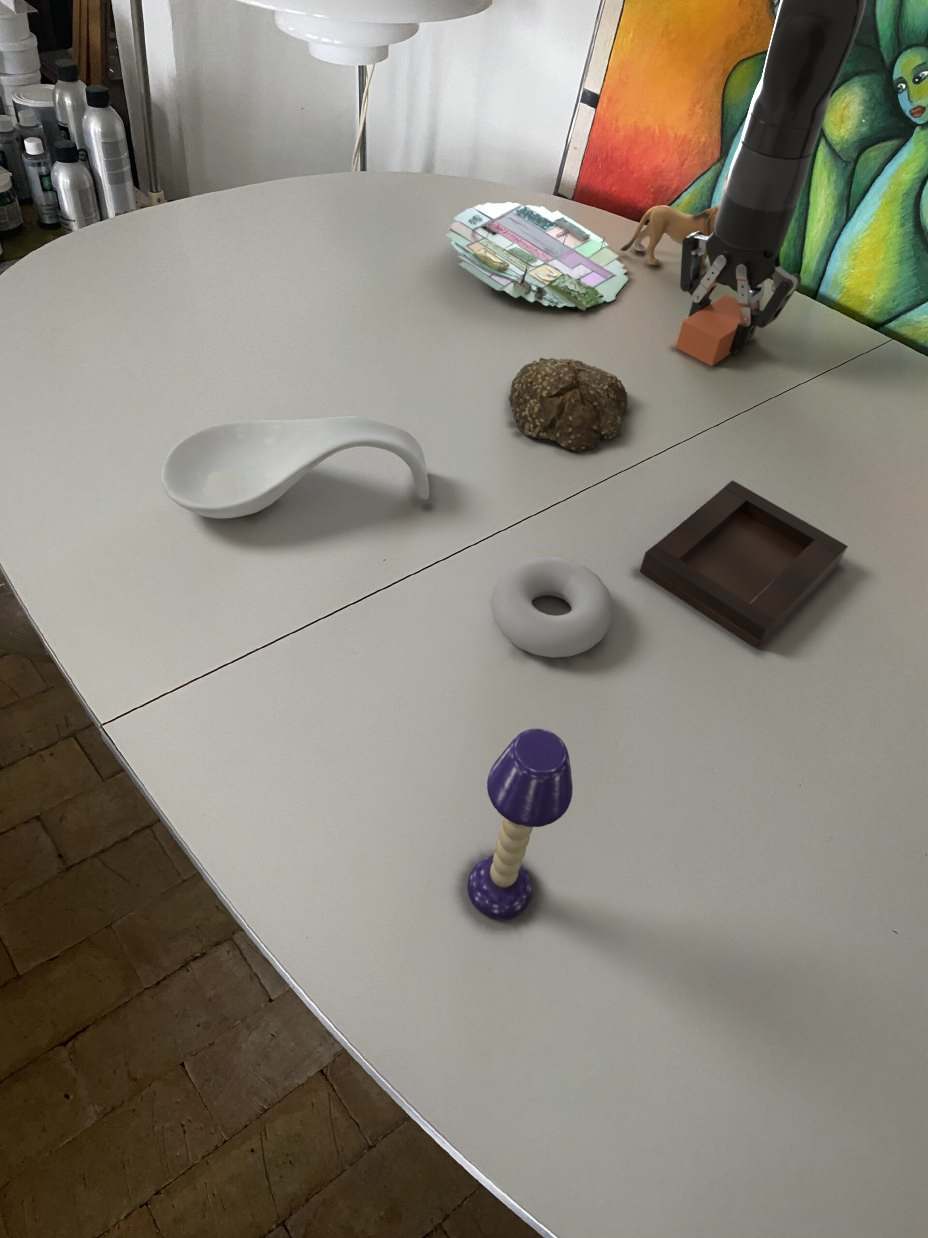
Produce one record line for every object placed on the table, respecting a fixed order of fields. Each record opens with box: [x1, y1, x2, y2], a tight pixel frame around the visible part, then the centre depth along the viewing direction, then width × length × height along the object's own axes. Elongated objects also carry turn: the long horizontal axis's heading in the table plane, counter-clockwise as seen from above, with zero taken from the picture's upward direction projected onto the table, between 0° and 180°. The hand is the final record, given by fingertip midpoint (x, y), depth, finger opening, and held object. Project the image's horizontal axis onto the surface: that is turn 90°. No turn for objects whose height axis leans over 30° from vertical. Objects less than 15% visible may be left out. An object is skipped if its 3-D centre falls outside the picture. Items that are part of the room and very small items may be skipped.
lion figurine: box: [619, 203, 720, 276], centre depth 111 cm, size 15×5×9 cm, turn 79°
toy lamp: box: [467, 728, 574, 920], centre depth 51 cm, size 5×5×17 cm
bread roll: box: [508, 357, 629, 453], centre depth 89 cm, size 13×12×5 cm
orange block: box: [675, 294, 758, 367], centre depth 101 cm, size 9×5×4 cm, turn 136°
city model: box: [444, 201, 629, 312], centre depth 109 cm, size 25×23×6 cm
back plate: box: [639, 479, 848, 650], centre depth 77 cm, size 14×12×2 cm
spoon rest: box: [160, 415, 430, 519], centre depth 78 cm, size 24×12×7 cm, turn 99°
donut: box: [490, 555, 614, 659], centre depth 71 cm, size 10×4×10 cm
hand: (715, 339), depth 102 cm, fingers closed on orange block, 5 cm apart
